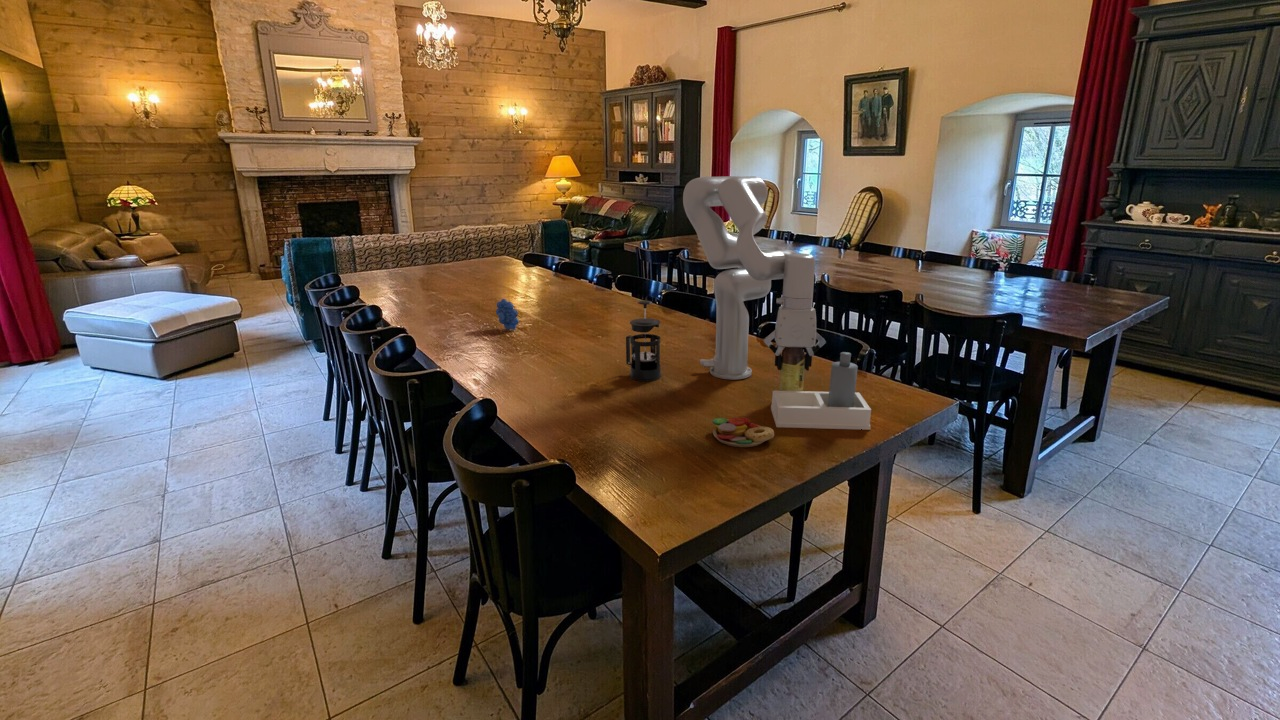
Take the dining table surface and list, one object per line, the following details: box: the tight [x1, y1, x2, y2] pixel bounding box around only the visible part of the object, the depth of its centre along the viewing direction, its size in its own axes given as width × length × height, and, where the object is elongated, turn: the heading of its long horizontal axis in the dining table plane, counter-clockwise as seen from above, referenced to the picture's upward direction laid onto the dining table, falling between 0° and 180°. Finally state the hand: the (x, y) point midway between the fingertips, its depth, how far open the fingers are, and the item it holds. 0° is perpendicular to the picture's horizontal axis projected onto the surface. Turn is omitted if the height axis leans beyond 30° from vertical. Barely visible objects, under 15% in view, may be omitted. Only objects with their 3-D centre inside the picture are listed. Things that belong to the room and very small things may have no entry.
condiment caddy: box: [770, 351, 872, 431], centre depth 148 cm, size 22×12×17 cm, turn 85°
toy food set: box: [712, 417, 775, 448], centre depth 141 cm, size 13×13×3 cm
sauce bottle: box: [778, 347, 806, 391], centre depth 161 cm, size 6×6×20 cm
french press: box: [625, 300, 662, 382], centre depth 179 cm, size 12×9×23 cm
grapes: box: [495, 298, 520, 331], centre depth 233 cm, size 12×7×12 cm, turn 53°
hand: (792, 368), depth 161 cm, fingers open, 6 cm apart
